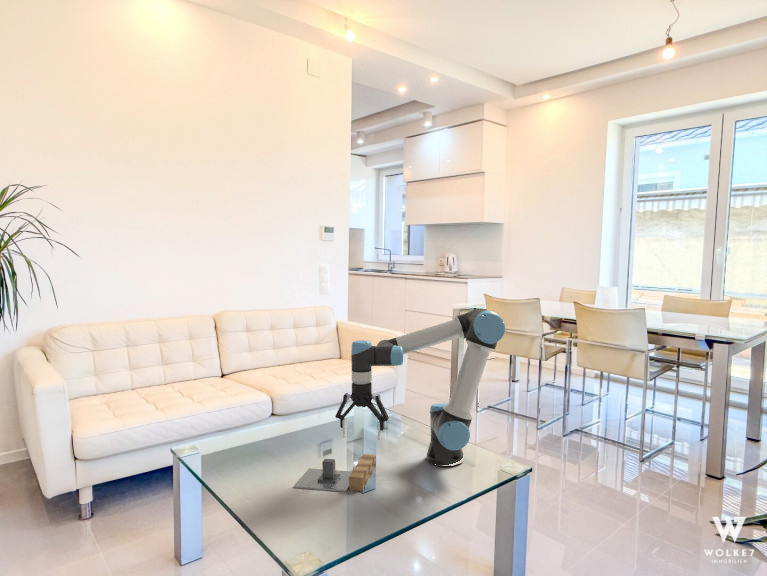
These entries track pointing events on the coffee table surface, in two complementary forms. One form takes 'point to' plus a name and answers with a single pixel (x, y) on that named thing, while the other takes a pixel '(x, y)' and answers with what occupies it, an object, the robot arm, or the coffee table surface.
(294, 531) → the coffee table surface
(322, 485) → the stand
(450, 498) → the coffee table surface
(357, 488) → the walnut bar
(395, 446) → the coffee table surface
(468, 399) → the robot arm
